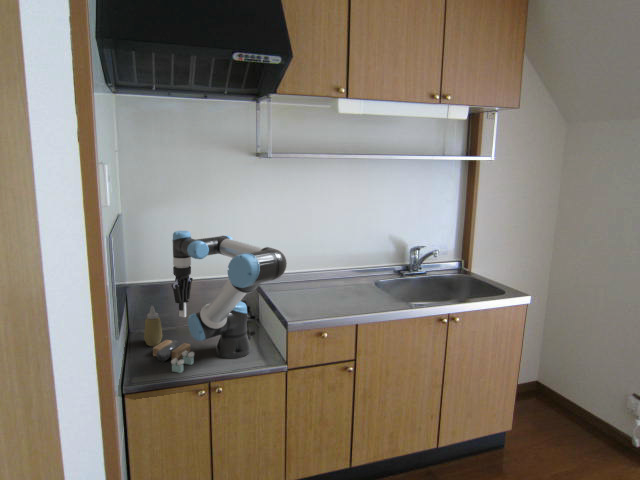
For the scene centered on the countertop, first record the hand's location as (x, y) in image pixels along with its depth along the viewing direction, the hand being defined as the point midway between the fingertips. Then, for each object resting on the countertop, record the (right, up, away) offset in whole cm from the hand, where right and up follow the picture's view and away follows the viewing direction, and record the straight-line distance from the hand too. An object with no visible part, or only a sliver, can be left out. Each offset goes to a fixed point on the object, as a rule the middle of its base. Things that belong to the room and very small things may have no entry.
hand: (182, 316), depth 201 cm
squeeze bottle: (-14, -13, +3) cm, 20 cm away
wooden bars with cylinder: (-3, -15, -6) cm, 17 cm away
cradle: (+5, -18, -17) cm, 25 cm away
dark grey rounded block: (-4, -16, -8) cm, 18 cm away
